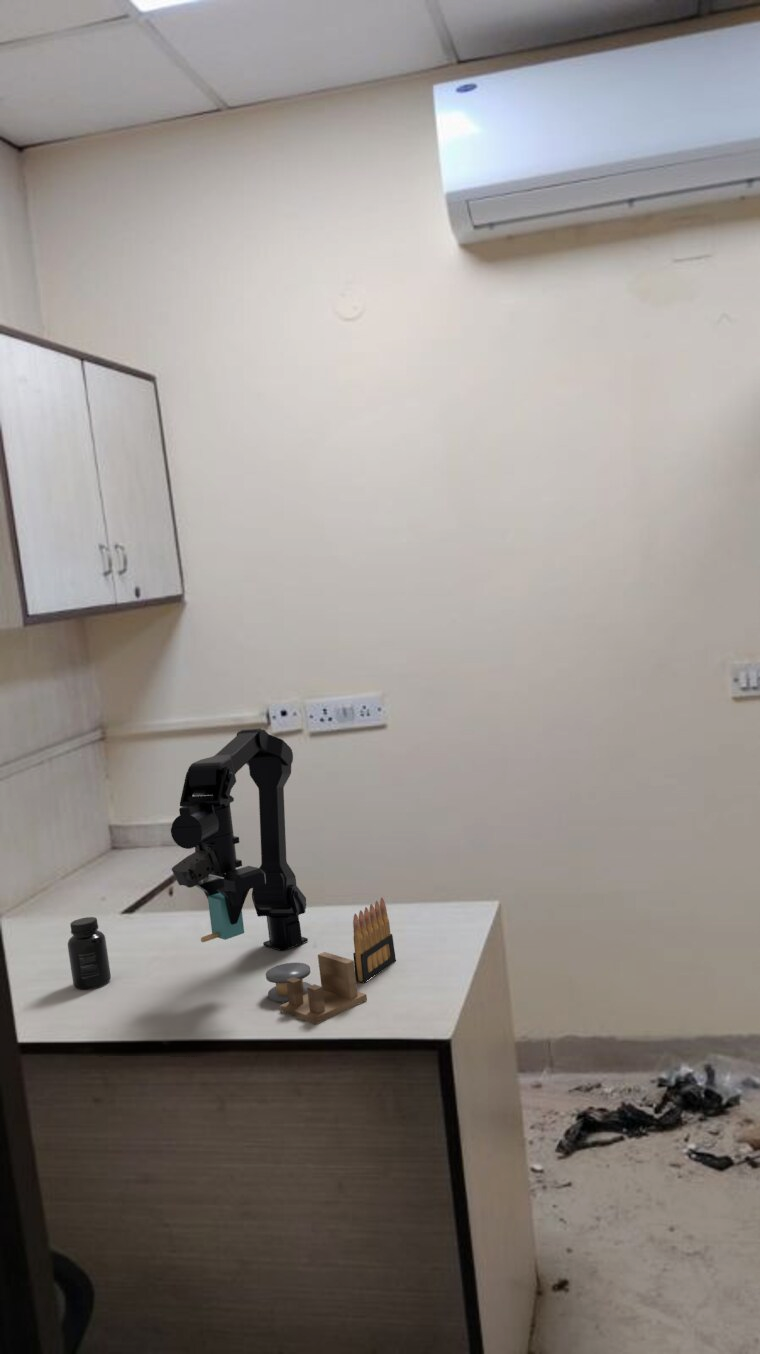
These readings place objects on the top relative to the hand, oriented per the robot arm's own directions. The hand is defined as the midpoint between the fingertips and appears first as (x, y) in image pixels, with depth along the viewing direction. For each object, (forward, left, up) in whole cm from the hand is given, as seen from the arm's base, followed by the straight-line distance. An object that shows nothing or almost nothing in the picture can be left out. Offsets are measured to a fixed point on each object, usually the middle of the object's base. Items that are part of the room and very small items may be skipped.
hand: (227, 921), depth 179 cm
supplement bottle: (-27, -13, -13) cm, 33 cm away
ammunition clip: (+15, +20, -13) cm, 28 cm away
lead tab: (0, -2, -2) cm, 3 cm away
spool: (+10, +5, -12) cm, 16 cm away
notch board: (+19, +5, -12) cm, 23 cm away
